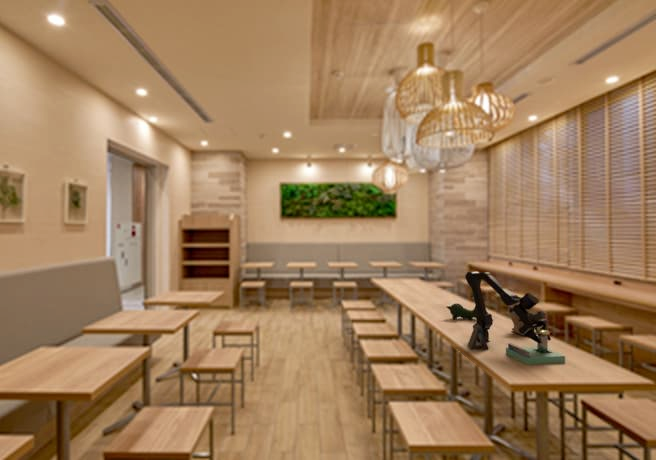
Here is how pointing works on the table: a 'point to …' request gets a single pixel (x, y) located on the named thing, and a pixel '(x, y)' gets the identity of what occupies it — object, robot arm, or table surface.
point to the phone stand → (473, 339)
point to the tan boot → (516, 322)
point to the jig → (533, 355)
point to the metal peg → (542, 341)
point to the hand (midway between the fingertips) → (545, 341)
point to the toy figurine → (462, 311)
